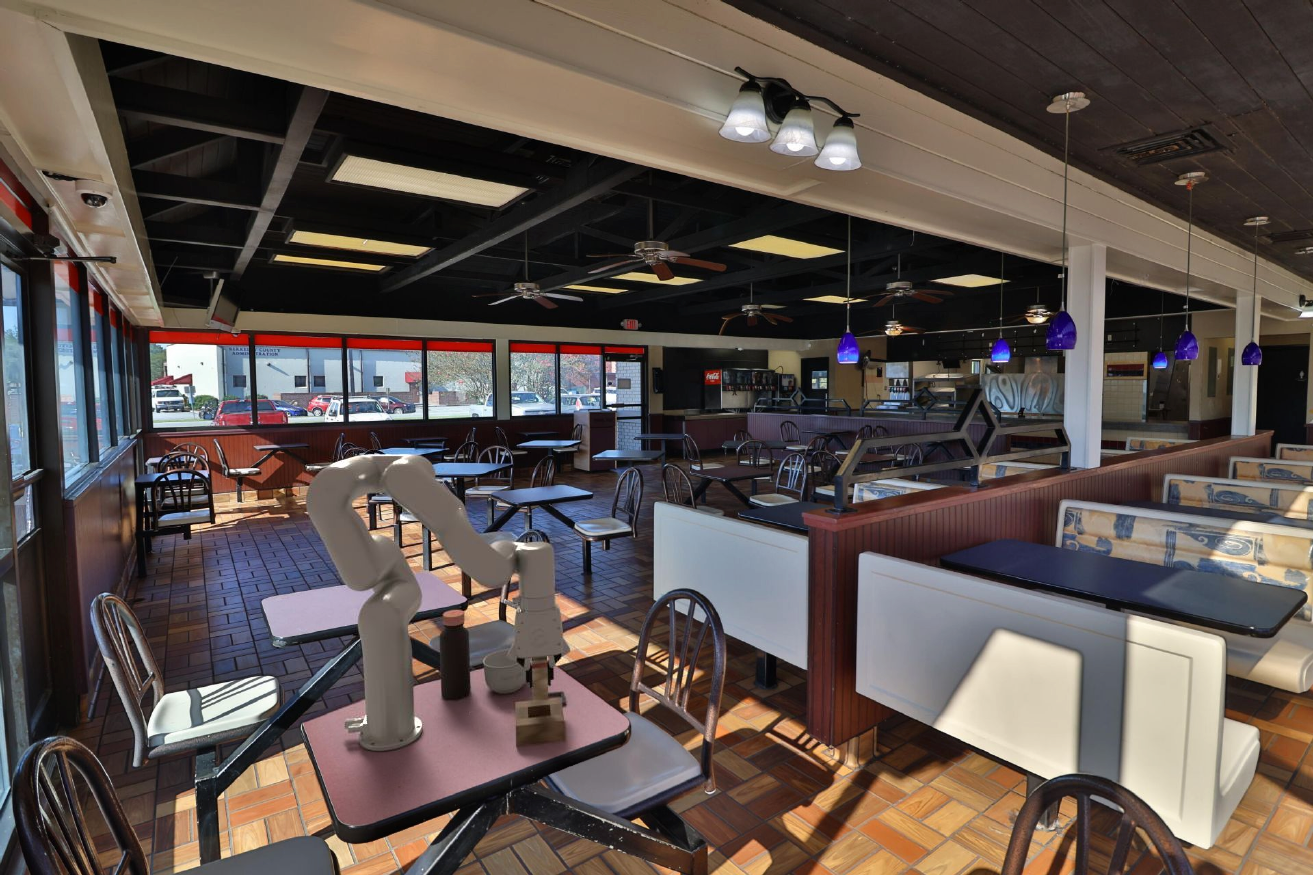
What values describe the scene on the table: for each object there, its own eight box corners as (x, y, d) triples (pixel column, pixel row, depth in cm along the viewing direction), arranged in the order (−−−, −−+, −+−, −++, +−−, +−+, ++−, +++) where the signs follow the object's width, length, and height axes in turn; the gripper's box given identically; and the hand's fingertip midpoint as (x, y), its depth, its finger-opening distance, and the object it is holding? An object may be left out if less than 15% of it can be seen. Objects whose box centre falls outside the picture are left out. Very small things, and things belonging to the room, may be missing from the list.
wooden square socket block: (516, 746, 136) (515, 725, 136) (515, 721, 146) (515, 702, 146) (564, 740, 139) (564, 720, 138) (561, 716, 148) (561, 697, 148)
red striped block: (532, 701, 140) (531, 660, 139) (532, 694, 143) (531, 654, 142) (548, 699, 140) (547, 659, 140) (547, 692, 144) (546, 653, 143)
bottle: (454, 703, 154) (452, 620, 152) (435, 695, 158) (432, 614, 156) (476, 691, 160) (474, 611, 158) (457, 684, 163) (455, 606, 161)
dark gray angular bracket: (529, 709, 151) (529, 706, 151) (528, 697, 157) (528, 694, 157) (565, 705, 153) (565, 702, 153) (563, 693, 159) (563, 690, 159)
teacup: (503, 703, 154) (502, 670, 153) (474, 689, 161) (473, 658, 160) (547, 681, 165) (546, 650, 164) (518, 669, 172) (517, 639, 171)
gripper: (497, 610, 134) (500, 696, 136) (578, 603, 137) (580, 687, 139) (498, 598, 141) (501, 680, 143) (574, 592, 145) (576, 672, 147)
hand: (540, 683), depth 141 cm, fingers closed on red striped block, 3 cm apart
